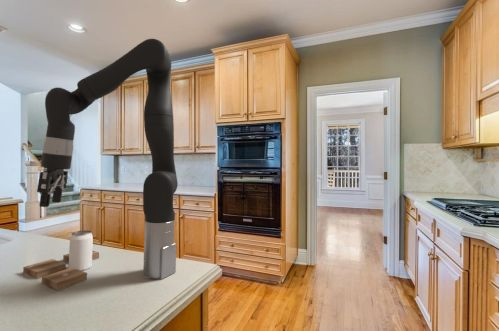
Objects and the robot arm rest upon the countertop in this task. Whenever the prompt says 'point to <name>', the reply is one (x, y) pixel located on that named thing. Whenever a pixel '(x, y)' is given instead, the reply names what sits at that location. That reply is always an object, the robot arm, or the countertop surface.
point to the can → (81, 250)
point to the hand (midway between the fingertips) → (50, 204)
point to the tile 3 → (94, 256)
